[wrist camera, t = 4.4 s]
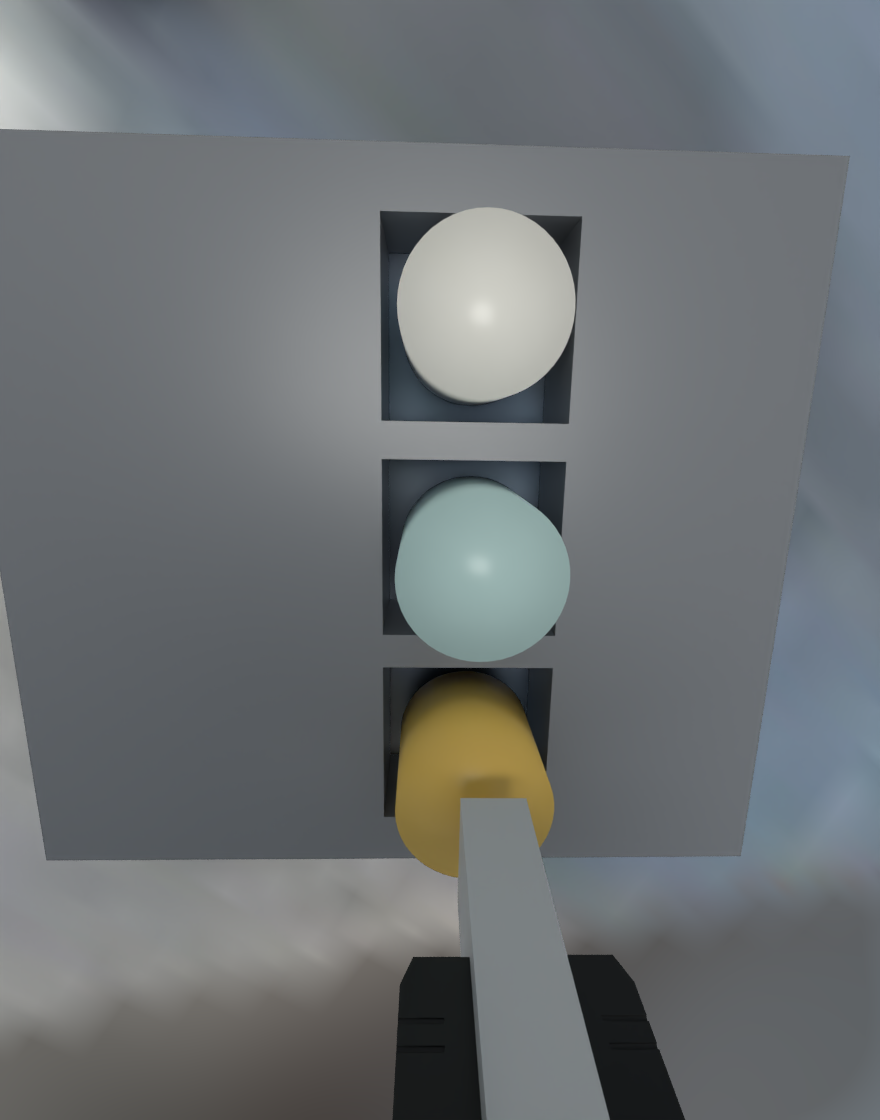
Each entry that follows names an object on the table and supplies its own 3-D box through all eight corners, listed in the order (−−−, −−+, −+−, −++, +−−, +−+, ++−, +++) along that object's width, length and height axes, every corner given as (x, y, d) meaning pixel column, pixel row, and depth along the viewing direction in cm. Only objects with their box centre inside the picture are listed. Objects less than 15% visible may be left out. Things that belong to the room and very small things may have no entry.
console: (106, 791, 21) (46, 860, 18) (28, 187, 17) (-72, 126, 13) (691, 789, 22) (740, 856, 19) (767, 208, 18) (849, 156, 14)
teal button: (401, 608, 17) (394, 661, 13) (401, 475, 16) (394, 490, 13) (533, 609, 18) (564, 662, 14) (540, 477, 17) (576, 492, 13)
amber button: (400, 785, 19) (394, 879, 15) (401, 670, 18) (394, 739, 14) (523, 784, 19) (549, 878, 15) (529, 671, 18) (559, 739, 14)
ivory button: (403, 404, 17) (397, 398, 13) (403, 257, 16) (396, 204, 12) (536, 406, 17) (569, 401, 13) (544, 261, 16) (582, 210, 12)
